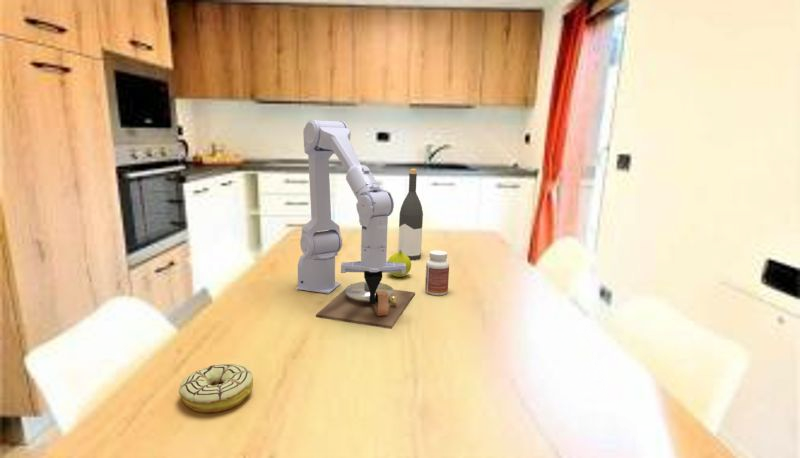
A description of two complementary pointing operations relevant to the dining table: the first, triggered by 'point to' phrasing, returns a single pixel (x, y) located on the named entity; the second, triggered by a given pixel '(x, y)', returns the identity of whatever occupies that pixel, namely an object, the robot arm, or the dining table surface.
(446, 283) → the pill bottle
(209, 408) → the decorated donut
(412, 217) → the wine bottle
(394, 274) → the yellow round fruit
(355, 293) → the metal lid
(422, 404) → the dining table surface
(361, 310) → the board
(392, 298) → the dowel
